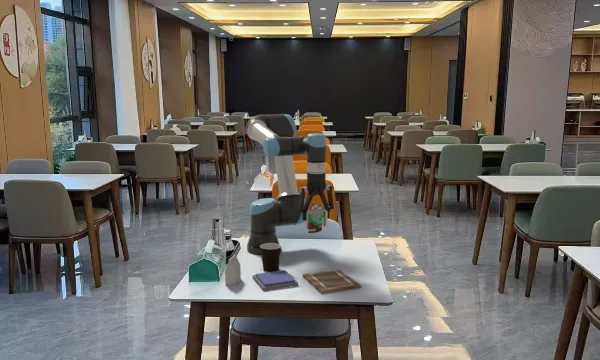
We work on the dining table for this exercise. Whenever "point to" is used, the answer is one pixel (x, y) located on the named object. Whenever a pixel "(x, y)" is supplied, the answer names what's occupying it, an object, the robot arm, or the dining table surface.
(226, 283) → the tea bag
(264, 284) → the ink pad
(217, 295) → the dining table surface
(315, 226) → the food container
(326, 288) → the marked board
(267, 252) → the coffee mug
